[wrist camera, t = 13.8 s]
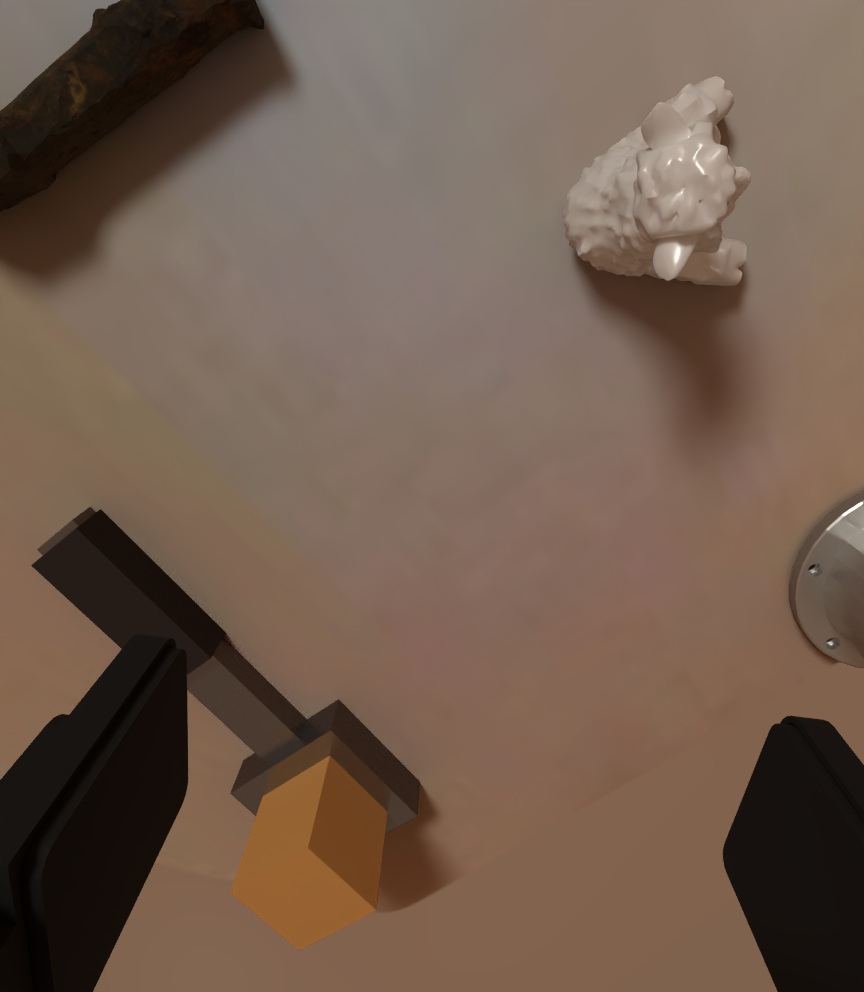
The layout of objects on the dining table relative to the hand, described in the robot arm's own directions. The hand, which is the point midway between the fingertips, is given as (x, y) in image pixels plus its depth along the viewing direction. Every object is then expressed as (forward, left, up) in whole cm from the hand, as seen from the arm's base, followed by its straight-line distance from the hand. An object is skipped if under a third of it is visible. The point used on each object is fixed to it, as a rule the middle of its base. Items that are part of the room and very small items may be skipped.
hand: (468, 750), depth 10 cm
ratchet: (+12, +22, -28) cm, 38 cm away
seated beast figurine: (-8, -10, -29) cm, 31 cm away
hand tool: (+19, -11, -29) cm, 36 cm away
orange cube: (+5, +29, -25) cm, 39 cm away
